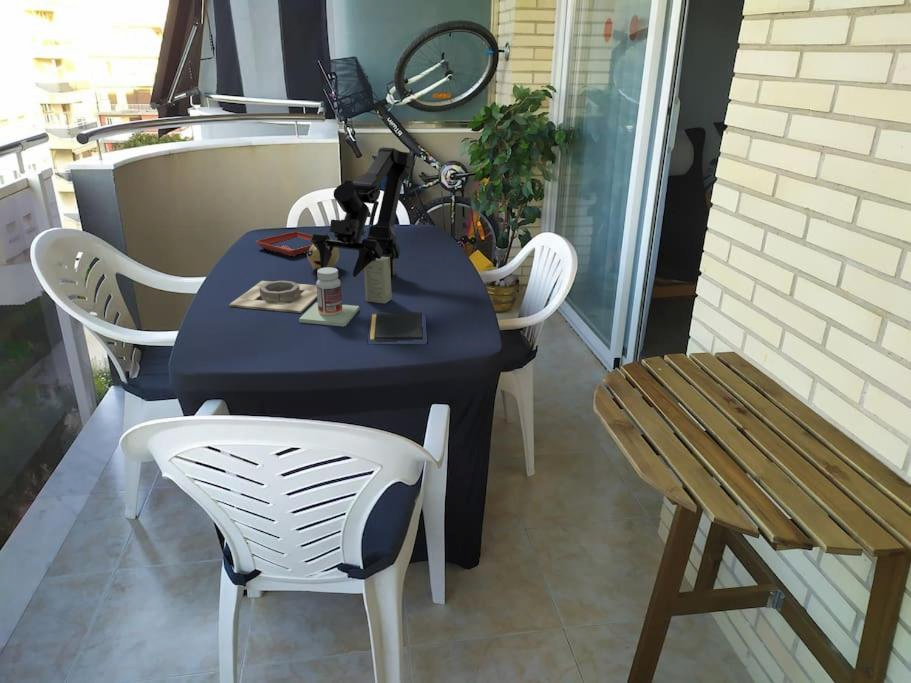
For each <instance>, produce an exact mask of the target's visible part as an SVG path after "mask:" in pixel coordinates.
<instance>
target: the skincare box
mask: <svg viewBox="0 0 911 683" xmlns="http://www.w3.org/2000/svg"><path fill="white" fill-rule="evenodd" d="M363 272H364V274H363V275H364V276H363V278H364V293H365V294H364V295H365V301H366V302H369V303H370V302H371V303H377V304H387V303H388V302H389V301H391V300H392V298H393V297H392V279H391V271H390V257H381V258H380V259H377V258H376V260H375V261H372V262H371V263H369V264H368V265H367V266H366V267H365V268H364V269H363Z"/></svg>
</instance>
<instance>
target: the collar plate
mask: <svg viewBox="0 0 911 683" xmlns="http://www.w3.org/2000/svg"><path fill="white" fill-rule="evenodd" d="M260 299H261V300H260ZM316 299H317V286H316V284H306V283H305V284H304V283H296V282H295V281H290V280H289V281H288V280H276V281H275V280H274V281H269V280H260V281H259V282H258V283H257V284H255V285H253V287H251V288H250V289H249V290H247V291H246V292H244V293H243V294H241V295H240V296H239V297H238V298H236V299H235V300H233V301H232V302H231V303H229V305H228V306H229V308H231V307H232V308H240V309H241V308H243V309H253V310H261V311H262V310H264V311H273V310H274V311H275V312H285V313H294V314H295V313H298V314H302V313H303V312H304V311H305V310H306V309H307V308H308V307H309V306H310V305H311V304H312V303H313V302H315V300H316Z"/></svg>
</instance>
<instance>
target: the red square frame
mask: <svg viewBox="0 0 911 683" xmlns="http://www.w3.org/2000/svg"><path fill="white" fill-rule="evenodd" d="M312 236H313V234H312V235H311V234H307V233H303V232H299V231H293V232H292V231H291V232H287V233H284V234H278V235H274V236H269V237H265V238H262V239H258V240H255V242H256V244H257V245H259V247H261V248H265V249H268V250H267V251H269V250H272V251H275V252H274V253H276V252H279V253H282V254H281V255H283V254H285V255H284V256H286V255H289V256H288V257H290V256H293V257H295V256H294V255H297V254H301V253H304V252H307V251H308V250H309V249H310V247H311V246H312V245H309V246H305V247H301V248H297V249H291V248H289V247H288V246H286V245H285V246H286V247H285V246H284V245H283V246H281V247H279V246H273V244H276V243H279V242H283V241H286V240H290V239H293V238H295V237H296V238H301V239H304V240H308V241H311V238H312ZM287 247H288V248H287ZM265 249H264V250H265ZM272 251H271V252H272ZM279 253H278V254H279ZM304 254H305V253H304ZM301 255H302V254H301ZM297 256H298V255H297Z"/></svg>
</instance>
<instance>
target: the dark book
mask: <svg viewBox="0 0 911 683" xmlns="http://www.w3.org/2000/svg"><path fill="white" fill-rule="evenodd" d="M422 314H424V313H423V312H421V311H420V312H419V311H411V312H408V311H407V312H406V311H404V312H402V311H401V312H399V311H398V312H395V311H394V312H393V311H392V312H391V311H389V312H388V311H387V312H385V311H384V312H383V311H382V312H381V311H380V312H379V311H377V312H376V313H375V312H374V313H369V321H368V329H369V332H370V340H374V341H375V342H379V343H381V342H397V341H413V340H423V327H422Z"/></svg>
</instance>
